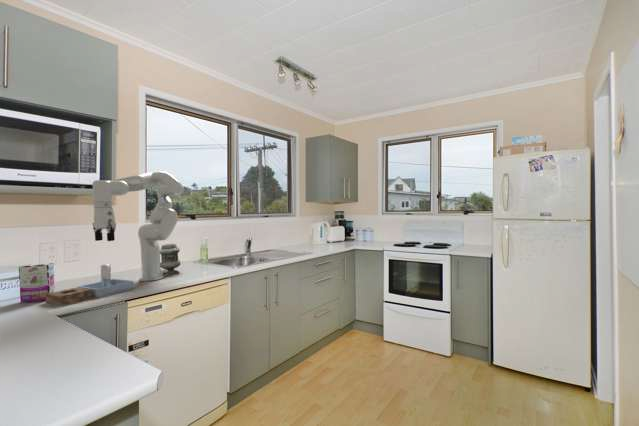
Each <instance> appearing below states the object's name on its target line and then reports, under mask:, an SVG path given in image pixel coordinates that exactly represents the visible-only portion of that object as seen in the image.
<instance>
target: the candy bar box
mask: <svg viewBox="0 0 639 426" xmlns="http://www.w3.org/2000/svg"><path fill="white" fill-rule="evenodd" d="M18 278H19V295H20V296H19V297H20V303H21V302H26V303H34V302H35V303H36V302H44V301H45V302H46V294H48V293H52V292H56V291H55V290H56V289H55V287H56V286H55V269H54V262H49V263H48V262H46V263H32V264H23V265H20V266H18Z"/></svg>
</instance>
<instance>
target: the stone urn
mask: <svg viewBox="0 0 639 426" xmlns="http://www.w3.org/2000/svg"><path fill="white" fill-rule="evenodd" d="M179 252H180V247H178V245H177V243H167V244H166V243H165V244H162V245H161V248H160V269H162V270H166V269H167V270H168V272H167V273H163V274H162V275H163V276H167V275H174V274H175V275H176V274H178V273H179V272H180V271H179V270H177V269H176V268H178V267H180V265H181V264H182V263H181V261H180V260H179Z"/></svg>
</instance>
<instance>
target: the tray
mask: <svg viewBox="0 0 639 426" xmlns="http://www.w3.org/2000/svg"><path fill="white" fill-rule="evenodd" d="M76 287H77V288H84V289H91V296H92V298H94V299H98V298H102V297H106V296H110V295H115V294H119V293H123V292H126V291H131V290H134V288H135V287H134V280H130V279H121V278H120V279H119V278H111V286H107V287H103V288H101V281H98V282H93V283H91V282H90V283H88V284H83V285H78V286H76Z"/></svg>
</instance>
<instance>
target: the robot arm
mask: <svg viewBox="0 0 639 426" xmlns="http://www.w3.org/2000/svg"><path fill="white" fill-rule="evenodd" d="M151 188H155V192H156V195H157V203H156V205H155V207H154V208H153V211H152V212H151V214H150V215H149V221H150V222H149V223H146V224H145V223H144V224H143V225H141V226H140V227H139V228H138V231H137V234H138V235H137V236H138V239H139V243H140V259H141V276H140V277H138V281H140V282H149V281H157V280H161V279H163V278H164V276H165V275H163V273H167V272H168V270H167V269H162V268H161V267H160V263H161V254H160V249H161V248H160V245H159V243H158V241H165V240H168V238H169V237H170V236H171V234H172V232H173V231H174V229H175V227H176V225H177V223H178V220H179V215H178V212H177V211H176V210H174V209H173V206H174V205H173V202H172V199H171V197H178V196H181V195H182V194H183V193H184V186H183V184H182V183H181V182H180V181H179V180H178V179H176V178H175V177H174V176H173V175H172V174H170V173H168V172H167V171H161V170H160V171H151V172H146V173H141V174H136V175H132V176H131V175H130V176H127V177H121V178H116V179H111V180H106V179H101V180H100V179H98V180H94V181H92V199H93V210H94V211H93V223H92V227H93V233H94V241H96V242H97V241H98V242H99V241H103V238H104V237H103V232H102V231H103V230H106V231H107V233H106V239H107V242H112V241H113V242H114V241H115V238H116V237H115V232H116V229H117V228H116V227H117V223H116V217H115V213H114V208H113V197H115V196H116V197H117V196H118V197H119V196H120V197H121V196H124V195H126V194H127V193H129V192H139V191H140V192H141V191H144V190H147V189H151Z"/></svg>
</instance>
